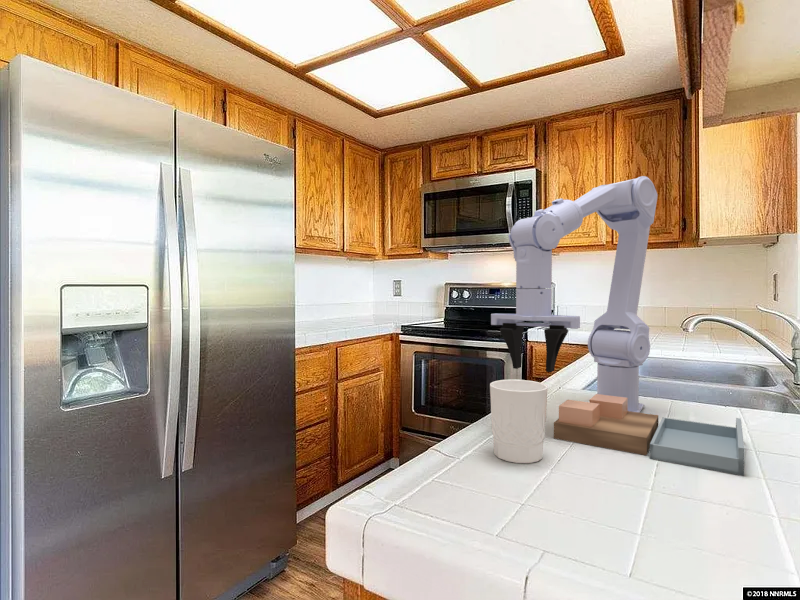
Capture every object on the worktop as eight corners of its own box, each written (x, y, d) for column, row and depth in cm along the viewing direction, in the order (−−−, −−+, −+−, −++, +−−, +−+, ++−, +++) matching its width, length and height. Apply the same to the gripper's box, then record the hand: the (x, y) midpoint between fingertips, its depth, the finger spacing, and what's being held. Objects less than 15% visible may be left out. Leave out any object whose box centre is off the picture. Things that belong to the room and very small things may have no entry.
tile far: (596, 408, 81) (596, 393, 81) (627, 412, 78) (627, 397, 78) (589, 414, 77) (589, 399, 77) (622, 419, 74) (622, 403, 74)
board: (576, 417, 84) (577, 404, 84) (658, 430, 77) (658, 415, 77) (553, 438, 73) (553, 422, 73) (646, 455, 65) (646, 437, 65)
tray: (662, 429, 77) (662, 408, 77) (740, 441, 71) (740, 418, 71) (649, 458, 64) (649, 433, 64) (743, 476, 58) (744, 448, 58)
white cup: (482, 459, 64) (482, 387, 64) (498, 442, 71) (498, 377, 71) (541, 469, 60) (541, 393, 60) (551, 450, 67) (552, 382, 67)
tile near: (567, 414, 77) (567, 399, 77) (599, 419, 74) (599, 403, 74) (558, 421, 73) (558, 405, 73) (592, 427, 70) (592, 410, 70)
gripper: (483, 288, 78) (483, 368, 79) (571, 288, 70) (571, 378, 70) (500, 288, 84) (500, 363, 85) (583, 288, 76) (582, 371, 76)
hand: (533, 369), depth 78 cm, fingers open, 5 cm apart
